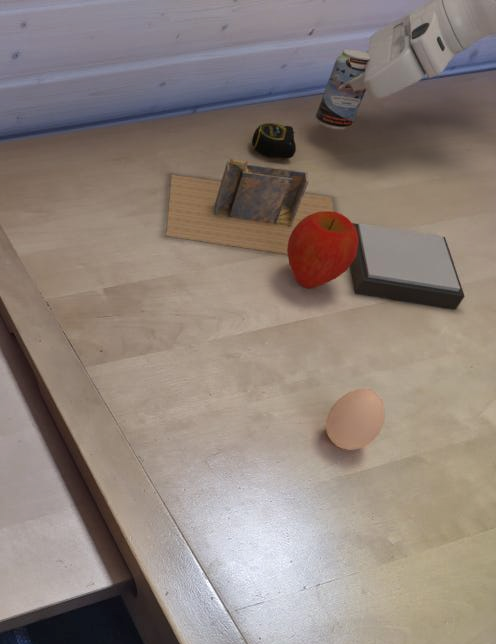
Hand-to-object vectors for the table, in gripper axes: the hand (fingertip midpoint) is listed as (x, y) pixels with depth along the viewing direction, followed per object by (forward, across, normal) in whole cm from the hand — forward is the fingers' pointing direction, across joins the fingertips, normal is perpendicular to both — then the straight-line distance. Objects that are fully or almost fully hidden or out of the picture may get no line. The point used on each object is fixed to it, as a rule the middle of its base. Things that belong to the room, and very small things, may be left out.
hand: (342, 82), depth 118 cm
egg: (+1, +68, +14) cm, 70 cm away
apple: (+6, +42, +9) cm, 43 cm away
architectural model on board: (+12, +30, +2) cm, 32 cm away
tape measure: (+12, +9, +2) cm, 15 cm away
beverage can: (+4, +1, +5) cm, 7 cm away
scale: (-3, +34, +17) cm, 38 cm away
